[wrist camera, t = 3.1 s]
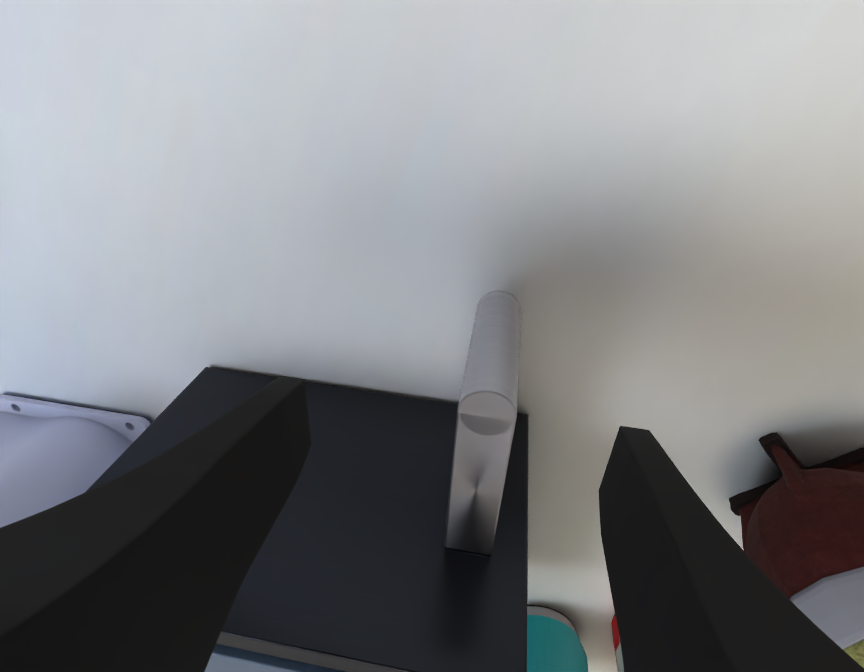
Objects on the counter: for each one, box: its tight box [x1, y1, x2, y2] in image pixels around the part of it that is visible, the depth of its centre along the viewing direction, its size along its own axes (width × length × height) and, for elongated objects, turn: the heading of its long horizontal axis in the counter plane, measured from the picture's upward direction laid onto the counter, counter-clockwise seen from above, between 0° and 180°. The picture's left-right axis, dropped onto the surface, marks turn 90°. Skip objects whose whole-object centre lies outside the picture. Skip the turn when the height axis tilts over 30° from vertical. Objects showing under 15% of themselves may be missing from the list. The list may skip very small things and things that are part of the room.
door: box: [86, 291, 528, 672], centre depth 17 cm, size 8×16×12 cm, turn 88°
